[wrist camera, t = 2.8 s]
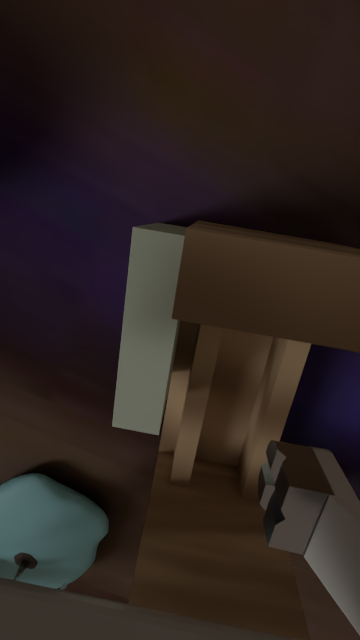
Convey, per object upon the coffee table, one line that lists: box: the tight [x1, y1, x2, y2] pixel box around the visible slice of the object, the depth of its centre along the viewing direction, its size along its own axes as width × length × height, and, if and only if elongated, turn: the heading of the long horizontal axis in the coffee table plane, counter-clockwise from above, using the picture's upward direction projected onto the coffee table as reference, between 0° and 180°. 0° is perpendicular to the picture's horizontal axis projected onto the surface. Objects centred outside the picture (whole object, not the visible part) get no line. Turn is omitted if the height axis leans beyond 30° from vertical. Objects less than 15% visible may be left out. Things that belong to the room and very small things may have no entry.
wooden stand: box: [128, 220, 360, 640], centre depth 15 cm, size 18×8×12 cm, turn 171°
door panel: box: [112, 223, 187, 435], centre depth 16 cm, size 9×2×7 cm, turn 171°
